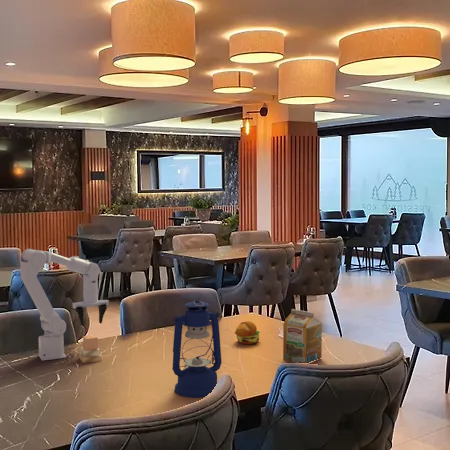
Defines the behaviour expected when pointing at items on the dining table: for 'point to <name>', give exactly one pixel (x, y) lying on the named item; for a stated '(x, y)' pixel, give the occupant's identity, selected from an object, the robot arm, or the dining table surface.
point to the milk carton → (302, 337)
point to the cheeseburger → (247, 333)
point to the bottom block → (90, 358)
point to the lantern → (196, 367)
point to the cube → (90, 342)
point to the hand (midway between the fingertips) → (91, 323)
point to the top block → (90, 352)
